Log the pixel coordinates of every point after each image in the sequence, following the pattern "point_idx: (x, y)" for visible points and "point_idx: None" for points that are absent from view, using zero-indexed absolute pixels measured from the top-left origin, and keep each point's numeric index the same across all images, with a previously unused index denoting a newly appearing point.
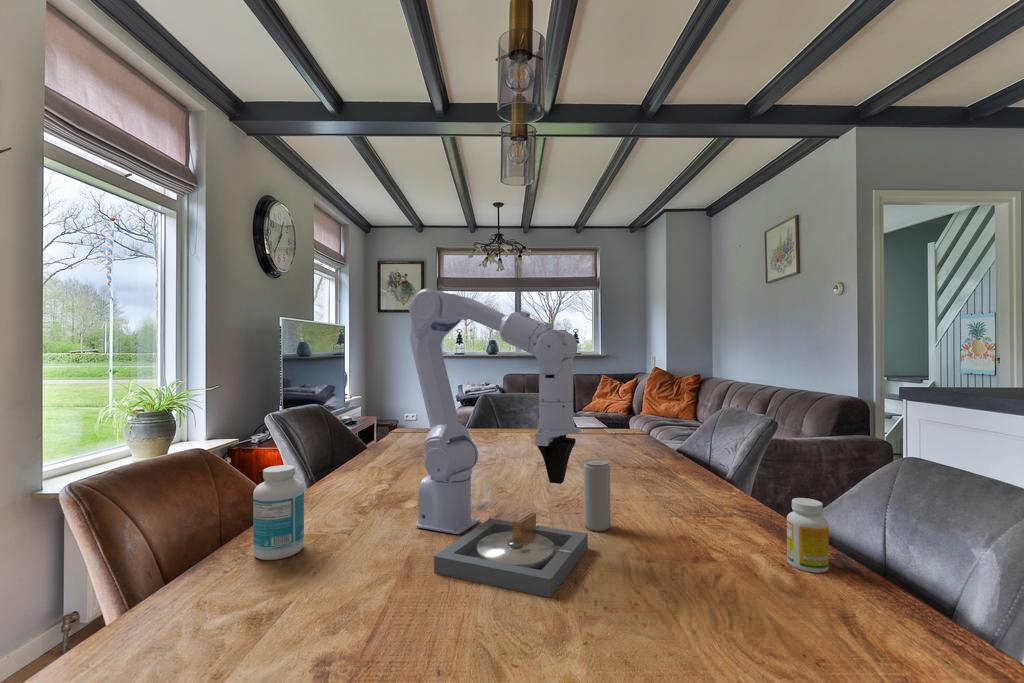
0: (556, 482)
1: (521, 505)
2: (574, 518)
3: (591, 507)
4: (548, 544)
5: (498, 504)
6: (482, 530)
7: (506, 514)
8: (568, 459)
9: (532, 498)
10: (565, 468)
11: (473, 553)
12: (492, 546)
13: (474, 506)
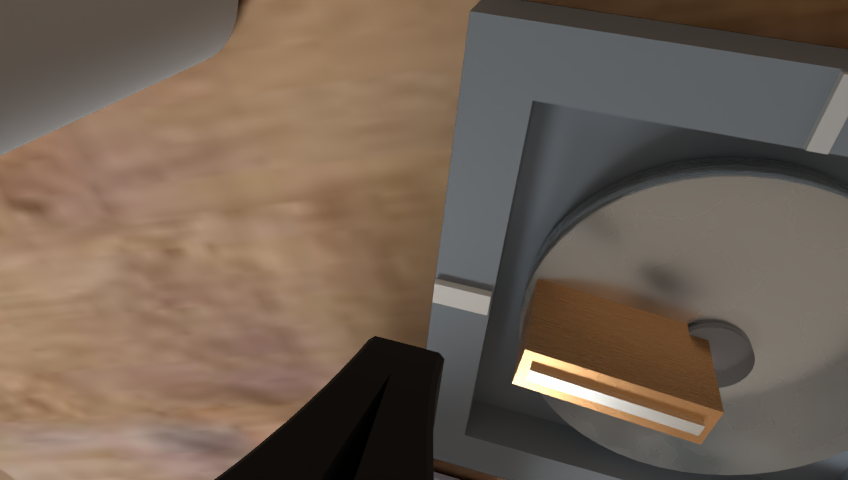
0: (438, 390)
1: (118, 335)
2: (128, 116)
3: (164, 35)
4: (680, 210)
5: (157, 404)
6: (559, 468)
7: (234, 374)
8: (225, 477)
9: (25, 306)
10: (344, 427)
11: None
12: (733, 426)
13: (217, 464)
